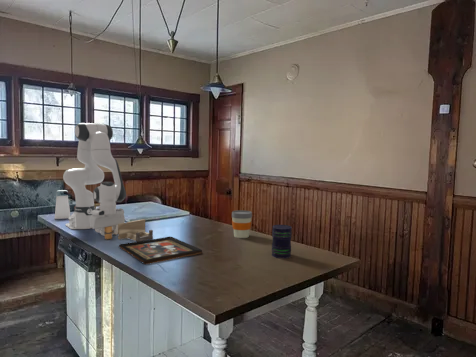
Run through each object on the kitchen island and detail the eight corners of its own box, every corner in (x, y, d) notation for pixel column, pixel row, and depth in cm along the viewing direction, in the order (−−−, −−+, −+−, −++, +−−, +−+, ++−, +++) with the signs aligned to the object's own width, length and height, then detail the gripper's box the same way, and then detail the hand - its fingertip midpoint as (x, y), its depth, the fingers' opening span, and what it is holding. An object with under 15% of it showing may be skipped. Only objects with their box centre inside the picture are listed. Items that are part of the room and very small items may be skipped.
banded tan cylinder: (103, 238, 207) (102, 226, 206) (109, 237, 210) (109, 225, 209) (107, 239, 204) (106, 227, 203) (113, 238, 207) (113, 226, 207)
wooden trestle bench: (118, 239, 208) (117, 223, 207) (143, 233, 222) (143, 219, 221) (132, 243, 200) (131, 227, 199) (157, 237, 214) (157, 222, 213)
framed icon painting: (208, 252, 187) (208, 246, 186) (148, 268, 162) (148, 262, 162) (167, 238, 214) (167, 234, 214) (111, 250, 189) (111, 245, 189)
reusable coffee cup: (255, 236, 220) (256, 212, 219) (242, 240, 211) (242, 214, 210) (240, 232, 229) (241, 209, 227) (227, 236, 219) (227, 211, 218)
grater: (55, 216, 269) (54, 189, 267) (70, 215, 273) (69, 189, 272) (54, 219, 259) (53, 191, 258) (70, 218, 264) (69, 191, 262)
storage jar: (286, 259, 176) (286, 229, 174) (268, 256, 181) (268, 227, 179) (294, 254, 184) (295, 226, 183) (276, 251, 189) (277, 223, 188)
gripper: (120, 207, 215) (120, 229, 217) (88, 211, 200) (88, 236, 201) (126, 208, 211) (127, 231, 213) (94, 213, 196) (94, 238, 197)
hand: (108, 233), depth 207 cm, fingers closed on banded tan cylinder, 4 cm apart
